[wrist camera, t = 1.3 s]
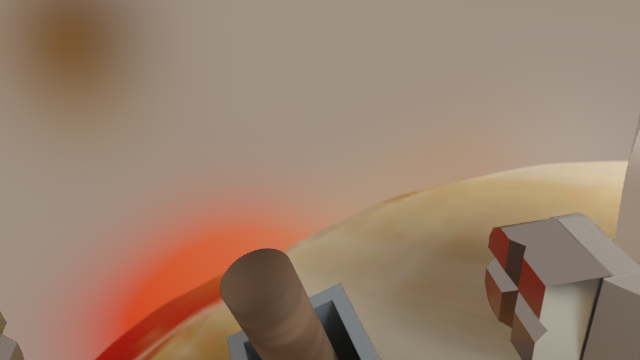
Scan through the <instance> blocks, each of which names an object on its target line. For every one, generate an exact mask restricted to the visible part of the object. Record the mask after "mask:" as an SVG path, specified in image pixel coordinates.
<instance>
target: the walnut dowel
mask: <svg viewBox="0 0 640 360" xmlns="http://www.w3.org/2000/svg"><path fill="white" fill-rule="evenodd" d="M220 293H221V296H222V299H223V300H224V302H225V303H226V305H227V306H228V308H229V309H230V311H231V313H232V314H233V316H234V317H235V319H236V320H237V322H238V323H239V325H240V326H241V328H242V329H243V331H244V333H245V334H246V336H247V337H248V339H249V340H250V342H251V343H252V345H253V346H254V348H255V349H256V351H257V353H258V354H259V356H260V357H261V359H262V360H339V359H338V357H337V355H336V353H335V351H334V349H333V347H332V345H331V343H330V341H329V339H328V337H327V335H326V333H325V331H324V329H323V326H322V324H321V322H320V320H319V318H318V316H317V314H316V312H315V310H314V308H313V306H312V304H311V302H310V300H309V298H308V296H307V294H306V292H305V290H304V288H303V286H302V283H301V281H300V279H299V277H298V275H297V273H296V271H295V269H294V267H293V265H292V263H291V261H290V259H289V257H288V256H287V255H286V254H285V253H283V252H281V251H279V250H276V249H259V250H255V251H252V252H250V253H247V254H246V255H244V256H242V257H241V258H239V259H238V260H236V261H235V262H234V263H233V264H232V265H231V266H230V267H229V268H228V270H227V271H226V272H225V274H224V276H223V278H222V281H221V285H220Z"/></svg>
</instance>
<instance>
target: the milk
mask: <svg viewBox="0 0 640 360" xmlns="http://www.w3.org/2000/svg"><path fill="white" fill-rule="evenodd" d="M614 243H615V244H616V245H617V246H618V247H619V248H620V249H622V250H623V251H624V252H625V253H626V254H627V255H628V256H629V257H630V258H631V259H632V260H633V261H634V262H635V263H636V264H637V265H638V266H639V267H640V116H639V120H638V125H637V129H636V133H635V137H634V142H633V146H632V150H631V155H630V159H629V163H628V167H627V171H626V176H625V181H624V186H623V191H622V197H621V203H620V210H619V216H618V222H617V229H616V235H615V241H614Z"/></svg>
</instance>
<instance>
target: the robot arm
mask: <svg viewBox="0 0 640 360" xmlns="http://www.w3.org/2000/svg"><path fill="white" fill-rule="evenodd" d="M488 247H489V249H490V250H491V252H492V253H493V255H494V256H495V257H494V259H493V260H492V261H491V262H490V263H489V265H488V266H487V267H486V277H485V285H486V291H487V296H488V300H489V302H490V305H491V308H492V310H493V312H494V313H495V315H496V317H497V319H498V320H499V321H500V322H502V323H504V324H506V325H507V326H509V327H511V328H512V334H511V342H512V344H513V345H514V347H515V349H516V350H517V352H518V353H519V355H520V357H521V358H522V360H640V267H639V266H638V265H637V264H636V263H635V262H634V261H633V260H632V259H631V258H630V257H629V256H628V255H627V254H626V253H625V252H624V251H623V250H622V249H620V248H619V247H618V246H617V245H616V244H615V243H614V242H613V241H612V240H611V239H610V238H609V237H608V236H607V235H606V234H605V233H604V232H603V231H602V230H601V229H599V228H598V227H597V226H596V225H595V224H594V223H593V222H592V221H591V220H590V219H589V218H588V217H587V216H585V215H583V214H580V213H574V214H569V215H563V216H557V217H552V218H549V219H545V220H538V221H532V222H526V223H520V224H513V225H507V226H501V227H494V228H493V230H492V232H491V234H490V238H489V246H488ZM6 323H7V322H6V321H5V319H4V317H3V316H2V314H1V312H0V360H24V357H23V353H22V351H21V349H20V347H19V345H18V343H17V342H15V341H13V340H12V339H10V338H8V337H6V336H4V335H3V334H2V333H3V330H4V327H5V325H6Z"/></svg>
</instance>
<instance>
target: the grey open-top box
mask: <svg viewBox="0 0 640 360" xmlns="http://www.w3.org/2000/svg"><path fill="white" fill-rule="evenodd" d="M309 300H310V302H311V304H312V306H313V308H314V310H315V312H316V314H317V316H318V318H319V320H320V322H321V324H322V326H323V329H324V331H325V333H326V335H327V337H328V339H329V341H330V343H331V345H332V347H333V349H334V351H335V353H336V355H337V357H338V359H339V360H380V359H379V357H378V355H377V353H376V351H375V349H374V347H373V345H372V343H371V341H370V339H369V337H368V335H367V333H366V332H365V330H364V328H363V326H362V324H361V322H360V320H359V318H358V316H357V314H356V312H355V310H354V308H353V306H352V304H351V303H350V301H349V299H348V297H347V295H346V293H345V291H344V289H343V287H342V285H341V283H339V284H337V285H335V286H333V287H331V288H329V289H327V290H325V291H323V292H321V293H319V294H317V295H315V296H313V297H310V298H309ZM227 342H228V346H229V351H230V355H231V359H232V360H262V359H261V357H260V356H259V354H258V353H257V351H256V349H255V348H254V346H253V345H252V343H251V342H250V340H249V339H248V337H247V336H246V334H245V333H244V331H243V330H242V331H240V332H238V333H236V334H234V335H232V336H230V337H228V338H227Z"/></svg>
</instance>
